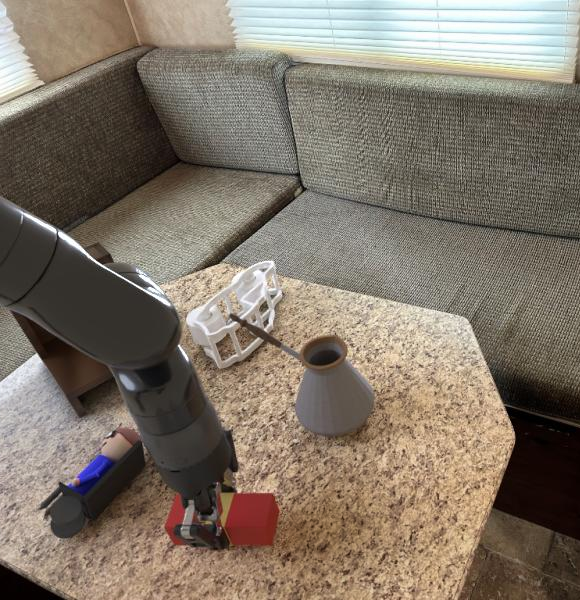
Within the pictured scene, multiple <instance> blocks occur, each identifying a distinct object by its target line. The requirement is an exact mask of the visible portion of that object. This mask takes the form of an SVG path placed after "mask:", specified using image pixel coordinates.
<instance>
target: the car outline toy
mask: <svg viewBox="0 0 580 600" xmlns="http://www.w3.org/2000/svg"><path fill="white" fill-rule="evenodd" d="M262 269H266V270H265V271H264V272H263V271H261V270H262ZM276 269H277V268H276V265H275V261H273V260H271V259H269V260H264V261H259V262H256V263H255V264H252V265H250V266H248V268H245V269H244V270H242V271H240V272H238V273H236V274H235V275H234V276H233V277H232V280H231V283H230V284H229V285H228V286H226V287H225V288H223V289H222V290H220V291H219V292H217V293H216V294H214V295H213V296H212V297H211V298H210V299H208V300H207V301H206V302H205V303H204V305H200V306H198V307H196V308H194V309H192V310H191V311H190V312H189V313H188V314H187V316H186V319H185V322H186V324H187V327H188V330H189V332H190V334H191V337H192V339H193V341H194V343H195V344H197V345H199V346H203V350H204V353H205V355H206V356H207V357H210V358H211V359H212V360H213V361H214V362H215V364H216V366H217V368H218V369H220V370H223V369H226V368H229V367H230V366H232V365H233V364H235V363H237V362H243V360H245V359H246V358H247V357H248V356H249V355H251V354H252V353H253V352H254V351H255V350H256V349H258V348H259V346H261V345H262V343H264V342H265V340H263V339H261V338H259V337H257V338H256V339H255V340H253V342H251V343H250V344H249V345H248V346H247V347H246V348H244V350H242V349H241V346H240V343H239V340H238V338H237V335H236V331H237V330H238V329H239V328H241V326H240V324H239V323H238V322H235V321H233V322H232V323H231V324H230V325H226V321H225V319H224V317H223V314H222V311H221V309H220V308H219V307H218V306H217V305H216V304H217V303H219V302H220V301H221V300H223V299H224V303H225V305H226V308H227V311H228V314H229V315H230V314H233V313H235V311H234V308H233V305H232V302H231V299H230V296H229V294H232V293H234V294H235V296H236V299H237V302H238V304H240V306H241V308H242V309H241V311H239V312H238V313H236V314H237V316H239V318H241V319H246V320H247V322H248V323H250V324H252V325H255V326H257V327H260V328H261V329H263V330H264V331H266V332H267V333H269V334H270V333H271V332H272V331H273V330H274V320H275V317H276V312H275V306H276V305H277V304H278V303H279V302H281V300H282V298H283V292H282V289H281V287H280V283H279V280H278V279H279V278H278V276H277V271H276ZM270 277H271V278H272V281H273V285H274V287H273V288H269V287H268V283H267V282H268V281H267V280H268V279H269V278H270ZM271 296H274V297H273V298H272V297H271ZM265 302H266V304H267V307H268V309H267V310H266V311H265V312H264V313H262V315H261V312H260V307H261V306H262V305H263V304H264V303H265ZM234 315H235V314H234ZM253 316H255V320H254V322H253V320H252V317H253ZM267 320H268V324H267V325H266V326H265V325H264V323H265V322H266V321H267ZM231 321H232V319H231V318H230V319H229V320H228V322H227V324H229V323H230V322H231ZM248 331H249V330H248ZM227 334H229V335H230V339H231V342H232V344H233V347H234V350H235V353H234V354H233V355H231V356H229V357H228V358H227V359H225V360H222V357H221V355H220V352H219V349H218V347H217V343H219V342H220V341H222V340H223V339H224V338H225V337H226V336H227ZM249 334H250V335H252V336H254V337H256V336H255V335H254V334H253V333H252V332H250V331H249Z"/></svg>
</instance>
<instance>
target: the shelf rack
mask: <svg viewBox="0 0 580 600" xmlns="http://www.w3.org/2000/svg"><path fill="white" fill-rule="evenodd" d="M83 248H84V249H85V250H86V252H87V253H88V254H89V255H90V256H91V257H92V258H93V259H95V260H96V261H97V262H99V263H100V264H101V265H103V264H107V263H113V262H115V260H114V257H113V256H112V255H111V252H109V250H108V249H107V248H106V247H105V246H104V245H102V244H101V243H100V242H99V241H97V242H94V243H92V244H90V245H88V246H86V247H83ZM9 312H10V313H11V315H12V317H13V318H14V320H15V322H16V323H17V324H18V326H19V328H20V329H21V331H22V332H23V334H24V335H25V337H26V338H27V340H28V342H29V344H30V345H31V346H32V348H33V349H34V351H35V352H36V354H37V356H38V357H39V359H40V360H41V362H42V363H43V365H44V366H45V368H46V370H47V371H48V372H49V374H50V376H51V377H52V379H53V380H54V382H55V383H56V385H57V386H58V388H59V389H60V391H61V392H62V394H63V395H64V397H65V398H66V400H67V402H68V403H69V405H70V406H71V408H72V409H73V410H74V412H75V413H76V415H77V417H78V418H79V419H80V418H82V417H84V416H85V415H87V414H88V413H87V411H86V409H85V407H84V406H83V404H82V403H81V401H80V399H79V398H78V397H79V396H81V395H83V394H84V393H86V392H88V391H90V390H92V389H93V388H96V387H98V386H99V385H100V384H103V383H104V382H106V381H108V380H109V379H111V378H113V377H114V375H113V374H112V372H111V370H110V368H109V367H108V365H106V364H104V363H101V362H99V361H97V360H95V359H93V358H91V357H89V356H88V355H86V354H84V353H82V352H81V351H79V350H77V349H76V348H74V347H73V346H71V345H69V344H68V343H66V342H65V341H63V340H61V339H60V338H58V337H57V336H55V335H53V334H52V333H50V332H49V331H47V330H46V329H45V328H43V327H42V326H40V325H39V324H37V323H36V322H34V321H33V320H31V319H29V318H28V317H26V316H24V315H22V314H20V313H17V312H15V311H12V310H9Z"/></svg>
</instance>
